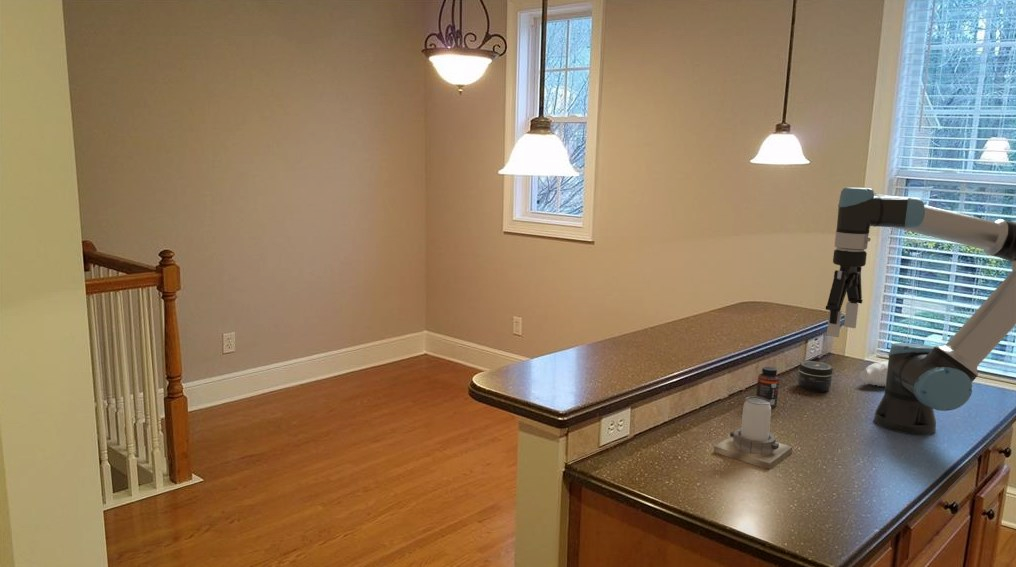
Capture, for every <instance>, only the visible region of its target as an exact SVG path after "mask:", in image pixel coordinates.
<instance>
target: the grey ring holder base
mask: <svg viewBox="0 0 1016 567" xmlns="http://www.w3.org/2000/svg"><path fill="white" fill-rule="evenodd" d="M729 434H730V435H729V437H727V438H725V439H723V440H722V441H720V442H719V443H717V444H716V445H714V446H713V453H716V454H718V455H719V454H720V455H723V456H726V457H729V458H732V459H736V460H738V461H740V462H744V463H748V464H751V465H754V466H757V467H761V468H763V469H767V470H770V469H772V468H773V467H774V466H776V465H778V463H780V462H781V461H783V460H784V459H785V458H787V457H788V456H789V455H791V454H792V453H793V446H790V445H788V444H784V443H780V442H777V441H776V435H775V434H773V433H771V432H769V436H768V441H753V440H749V439H746V438H743V437H742V436H741V427H740V428H737V429H735V430H733V431H730V433H729Z"/></svg>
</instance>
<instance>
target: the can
mask: <svg viewBox="0 0 1016 567" xmlns="http://www.w3.org/2000/svg"><path fill="white" fill-rule="evenodd" d="M742 408H743V409H742V414H741V415H742V416H741V418H742V419H741V427H740V428H741V436H742V437H743V438H746V439H749V440H753V441H768V436H769V433H770V426H771V425H770V424H771V416H772V414H771V413H772V408H771V406H770V401H769V400H768V399H765V398H762V397H756V396H748V397H746V398H745V401H744V402H743V407H742Z"/></svg>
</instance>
